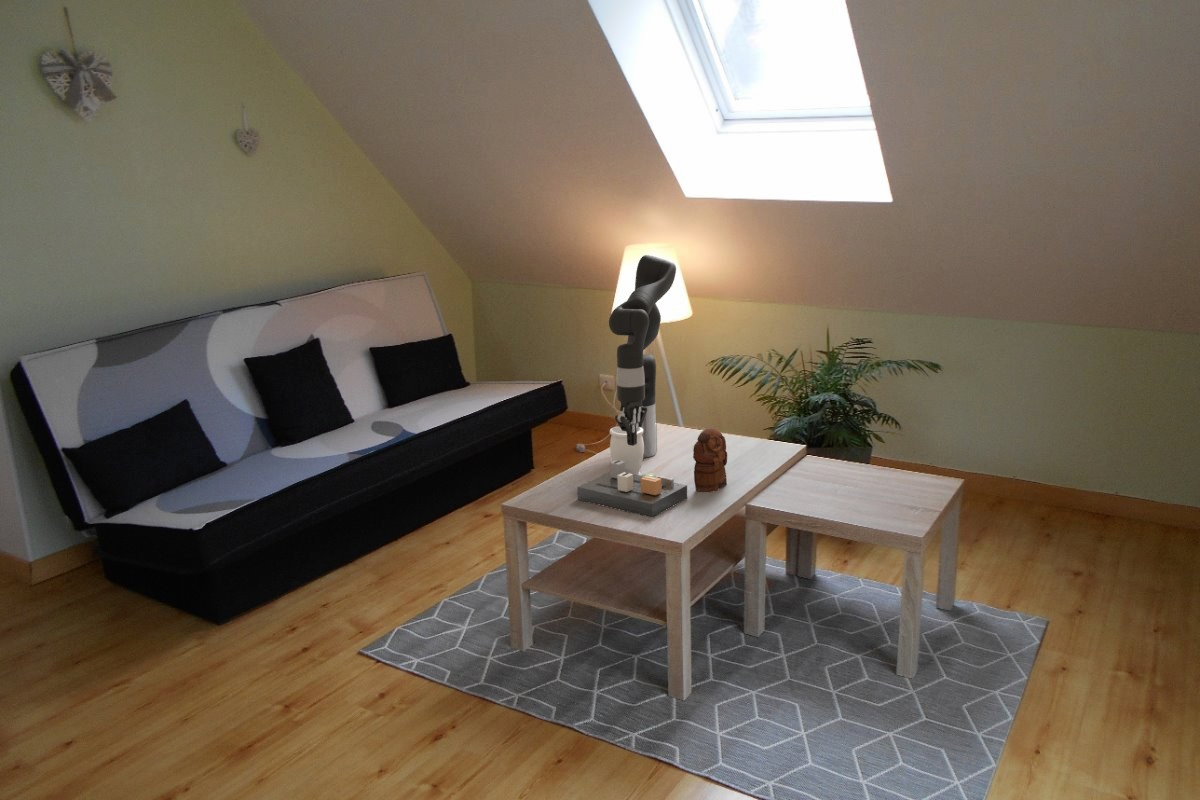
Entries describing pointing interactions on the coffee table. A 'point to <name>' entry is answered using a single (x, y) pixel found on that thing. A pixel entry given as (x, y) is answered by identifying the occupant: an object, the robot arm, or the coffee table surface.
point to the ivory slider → (625, 482)
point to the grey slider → (616, 468)
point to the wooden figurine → (710, 461)
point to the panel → (632, 495)
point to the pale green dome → (649, 475)
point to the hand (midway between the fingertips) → (632, 444)
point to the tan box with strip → (651, 485)
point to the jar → (627, 450)
